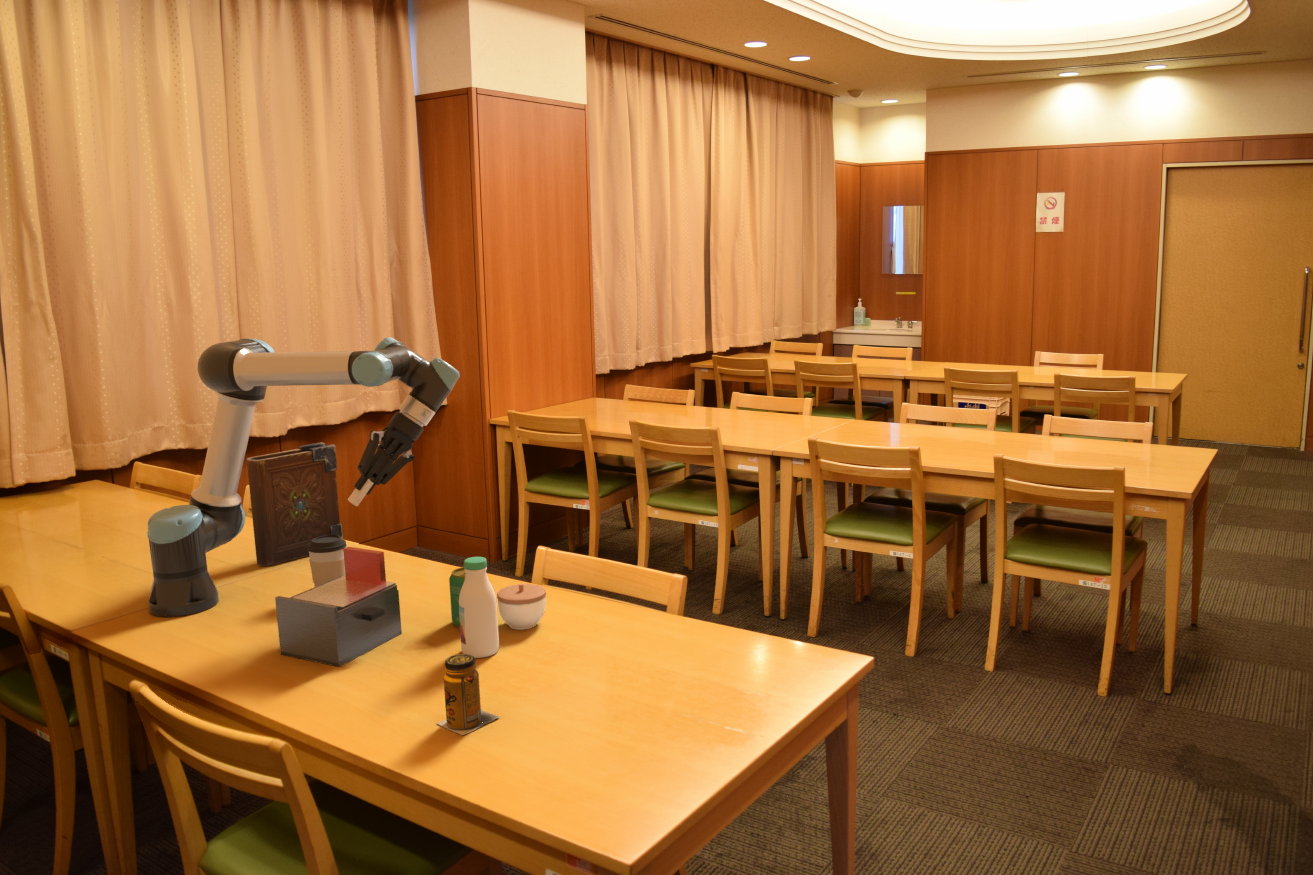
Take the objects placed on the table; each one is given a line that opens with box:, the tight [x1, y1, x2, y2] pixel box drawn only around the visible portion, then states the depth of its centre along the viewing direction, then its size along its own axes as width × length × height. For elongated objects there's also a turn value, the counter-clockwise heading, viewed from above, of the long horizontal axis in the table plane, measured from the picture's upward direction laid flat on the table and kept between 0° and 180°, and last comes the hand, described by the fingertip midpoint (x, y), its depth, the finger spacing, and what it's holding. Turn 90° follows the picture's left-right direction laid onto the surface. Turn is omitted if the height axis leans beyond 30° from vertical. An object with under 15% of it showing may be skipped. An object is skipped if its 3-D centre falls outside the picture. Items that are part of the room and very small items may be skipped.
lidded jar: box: [496, 583, 547, 631], centre depth 215 cm, size 11×11×9 cm
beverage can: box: [448, 566, 466, 629], centre depth 217 cm, size 8×8×12 cm
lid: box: [293, 546, 397, 611], centre depth 206 cm, size 16×14×8 cm
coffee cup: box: [307, 534, 348, 587], centre depth 236 cm, size 9×9×15 cm
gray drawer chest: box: [274, 576, 402, 668], centre depth 206 cm, size 19×21×12 cm
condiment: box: [436, 653, 501, 736], centre depth 170 cm, size 7×8×12 cm
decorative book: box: [246, 442, 344, 567], centre depth 268 cm, size 23×7×30 cm, turn 139°
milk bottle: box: [459, 556, 500, 659], centre depth 200 cm, size 8×8×20 cm
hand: (352, 503), depth 224 cm, fingers closed
